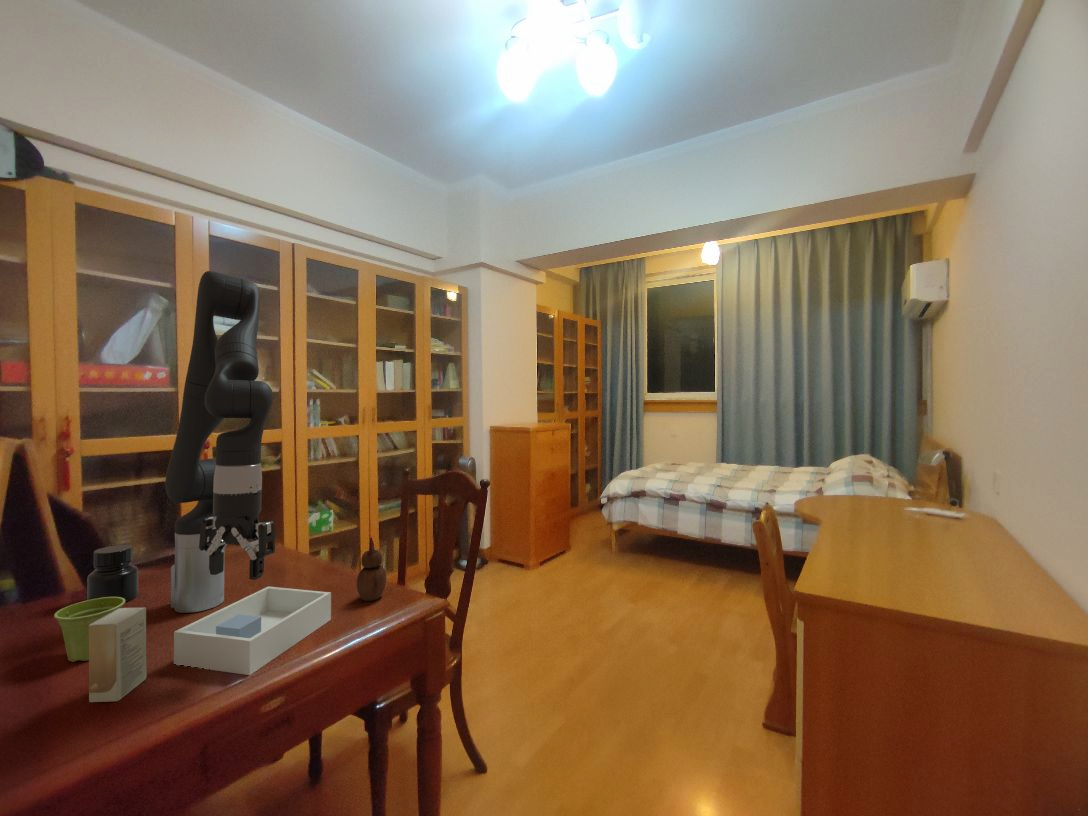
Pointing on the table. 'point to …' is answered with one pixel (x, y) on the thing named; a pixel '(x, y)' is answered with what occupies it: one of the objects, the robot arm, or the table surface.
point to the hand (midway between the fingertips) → (236, 576)
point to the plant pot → (83, 623)
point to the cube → (240, 626)
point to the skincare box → (117, 654)
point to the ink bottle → (113, 574)
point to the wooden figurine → (371, 575)
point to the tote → (281, 628)
